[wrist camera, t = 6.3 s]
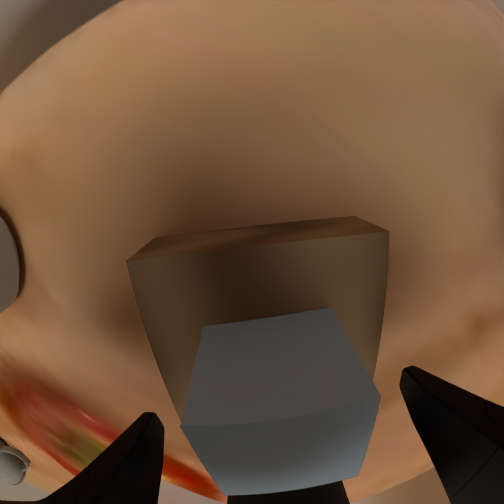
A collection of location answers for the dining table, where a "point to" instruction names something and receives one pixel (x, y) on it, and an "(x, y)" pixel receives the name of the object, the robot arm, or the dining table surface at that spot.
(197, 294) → the walnut block
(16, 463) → the ceramic mug
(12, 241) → the can
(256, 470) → the cube
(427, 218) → the dining table surface
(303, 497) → the pen holder
